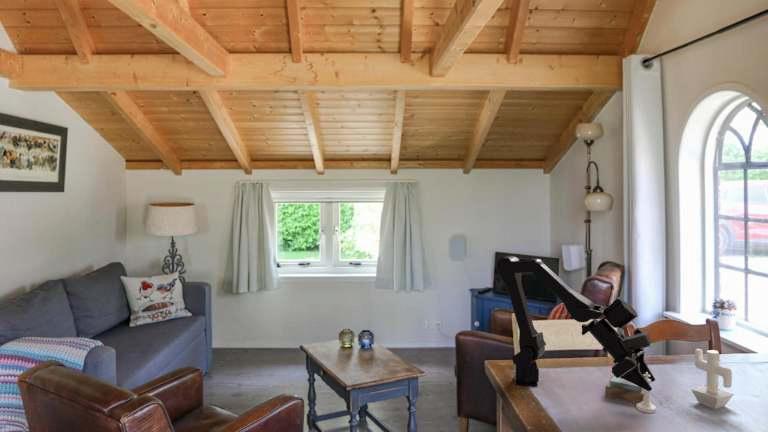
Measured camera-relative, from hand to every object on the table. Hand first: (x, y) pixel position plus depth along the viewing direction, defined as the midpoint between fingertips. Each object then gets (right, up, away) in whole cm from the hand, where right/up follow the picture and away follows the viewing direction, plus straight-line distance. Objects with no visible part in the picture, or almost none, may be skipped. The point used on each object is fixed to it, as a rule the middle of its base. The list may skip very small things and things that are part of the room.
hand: (652, 385), depth 131 cm
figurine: (+19, -7, +4) cm, 20 cm away
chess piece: (-1, -7, +1) cm, 7 cm away
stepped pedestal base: (-2, -6, +10) cm, 12 cm away
